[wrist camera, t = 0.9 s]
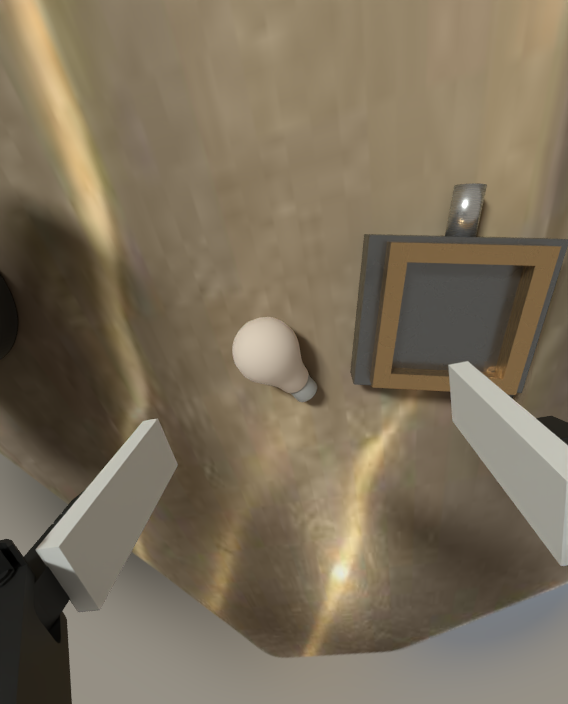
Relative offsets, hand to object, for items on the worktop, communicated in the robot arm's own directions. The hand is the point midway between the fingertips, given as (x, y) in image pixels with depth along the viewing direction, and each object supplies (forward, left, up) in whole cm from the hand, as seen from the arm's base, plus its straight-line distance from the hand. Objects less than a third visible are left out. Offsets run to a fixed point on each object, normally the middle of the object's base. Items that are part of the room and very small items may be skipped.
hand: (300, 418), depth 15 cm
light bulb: (-3, -5, -21) cm, 21 cm away
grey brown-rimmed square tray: (+13, 0, -20) cm, 24 cm away
